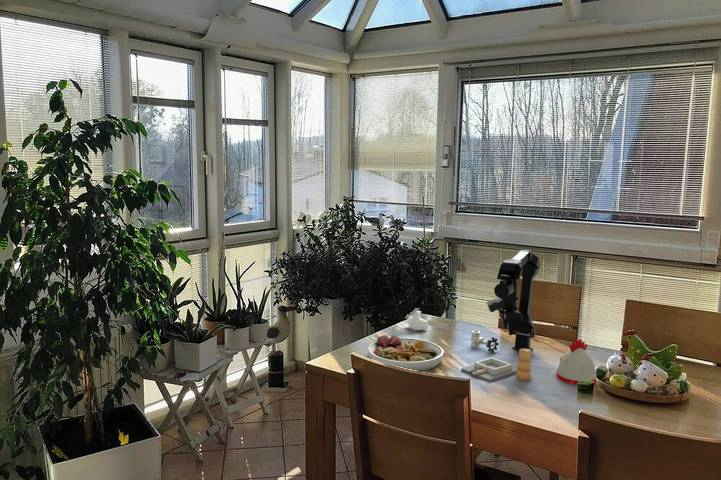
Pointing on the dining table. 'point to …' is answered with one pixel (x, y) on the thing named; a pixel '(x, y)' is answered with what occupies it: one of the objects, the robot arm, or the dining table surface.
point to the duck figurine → (417, 322)
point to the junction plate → (491, 369)
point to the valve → (483, 341)
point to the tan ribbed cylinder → (524, 365)
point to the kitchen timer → (576, 364)
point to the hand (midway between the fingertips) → (507, 331)
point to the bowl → (406, 352)
